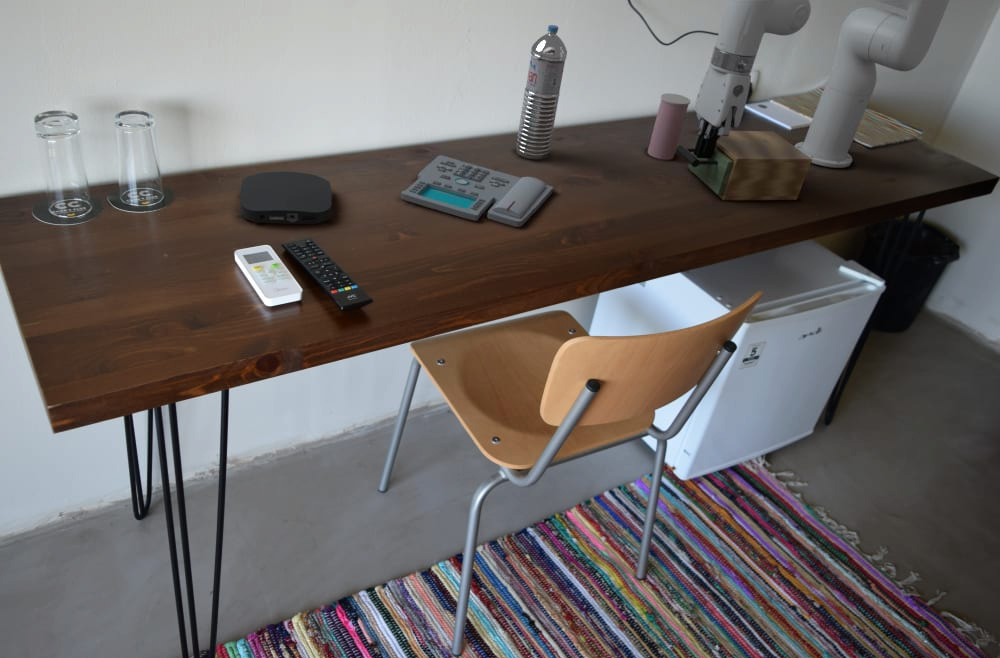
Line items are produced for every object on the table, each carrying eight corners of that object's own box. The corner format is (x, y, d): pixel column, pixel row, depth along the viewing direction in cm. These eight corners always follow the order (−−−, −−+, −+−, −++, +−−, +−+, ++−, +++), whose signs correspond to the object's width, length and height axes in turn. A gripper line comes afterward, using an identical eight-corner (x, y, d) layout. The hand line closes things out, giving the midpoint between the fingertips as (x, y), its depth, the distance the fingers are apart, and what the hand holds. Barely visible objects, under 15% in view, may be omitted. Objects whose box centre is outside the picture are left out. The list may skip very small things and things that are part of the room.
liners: (657, 147, 176) (671, 91, 169) (680, 156, 173) (696, 100, 165) (641, 152, 172) (655, 96, 165) (664, 162, 169) (679, 105, 162)
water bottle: (546, 163, 161) (569, 33, 147) (512, 157, 162) (533, 27, 147) (550, 151, 167) (573, 25, 152) (517, 145, 168) (537, 19, 153)
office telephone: (555, 179, 149) (521, 221, 134) (552, 192, 151) (519, 235, 135) (440, 148, 155) (395, 184, 139) (439, 160, 156) (394, 198, 141)
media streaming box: (329, 187, 142) (329, 171, 140) (332, 226, 130) (333, 209, 128) (243, 184, 139) (242, 168, 137) (239, 224, 127) (238, 207, 125)
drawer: (691, 194, 154) (702, 161, 150) (662, 167, 164) (671, 134, 160) (786, 194, 160) (798, 162, 156) (753, 167, 170) (763, 136, 166)
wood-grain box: (723, 200, 156) (737, 158, 151) (690, 170, 167) (702, 129, 162) (796, 199, 160) (812, 159, 155) (759, 170, 171) (773, 131, 166)
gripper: (771, 75, 142) (737, 173, 153) (730, 49, 153) (701, 142, 164) (734, 72, 140) (702, 172, 151) (695, 47, 152) (668, 141, 162)
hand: (702, 156), depth 157 cm, fingers closed
